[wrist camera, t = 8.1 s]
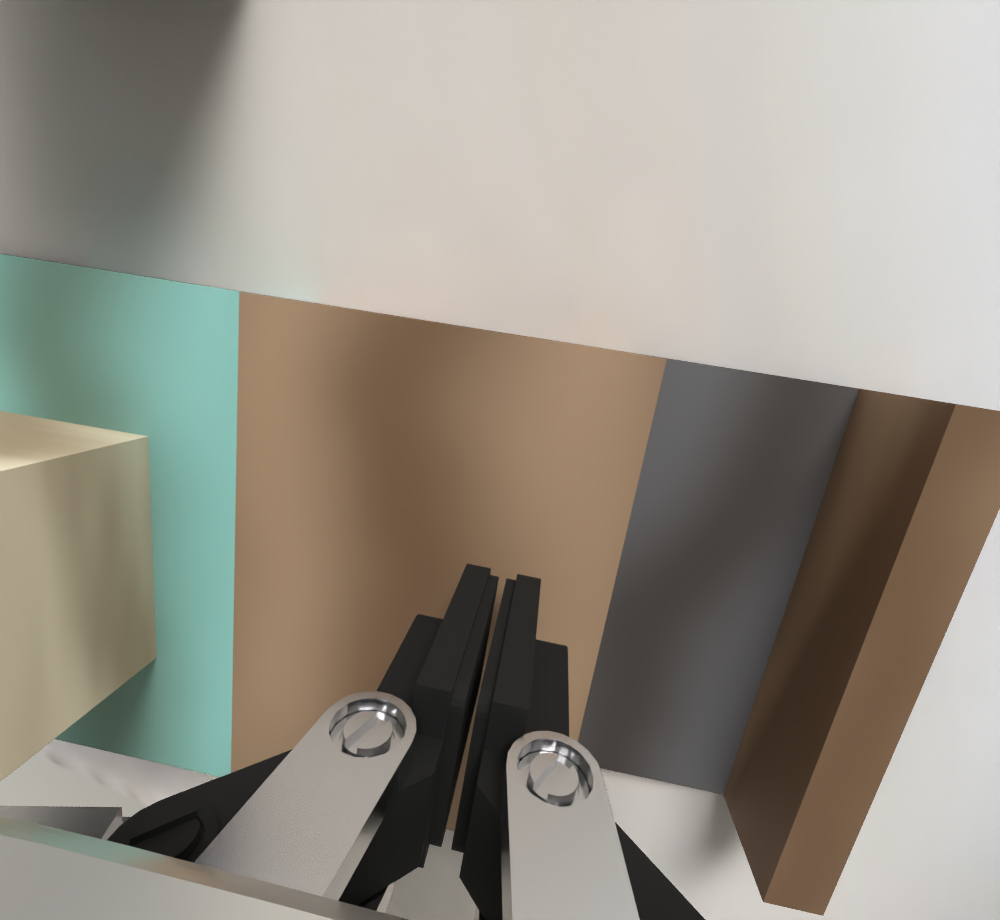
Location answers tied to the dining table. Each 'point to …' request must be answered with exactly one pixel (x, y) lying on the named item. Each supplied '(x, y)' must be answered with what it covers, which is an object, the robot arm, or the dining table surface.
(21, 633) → the beech block
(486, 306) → the dining table surface
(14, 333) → the board
